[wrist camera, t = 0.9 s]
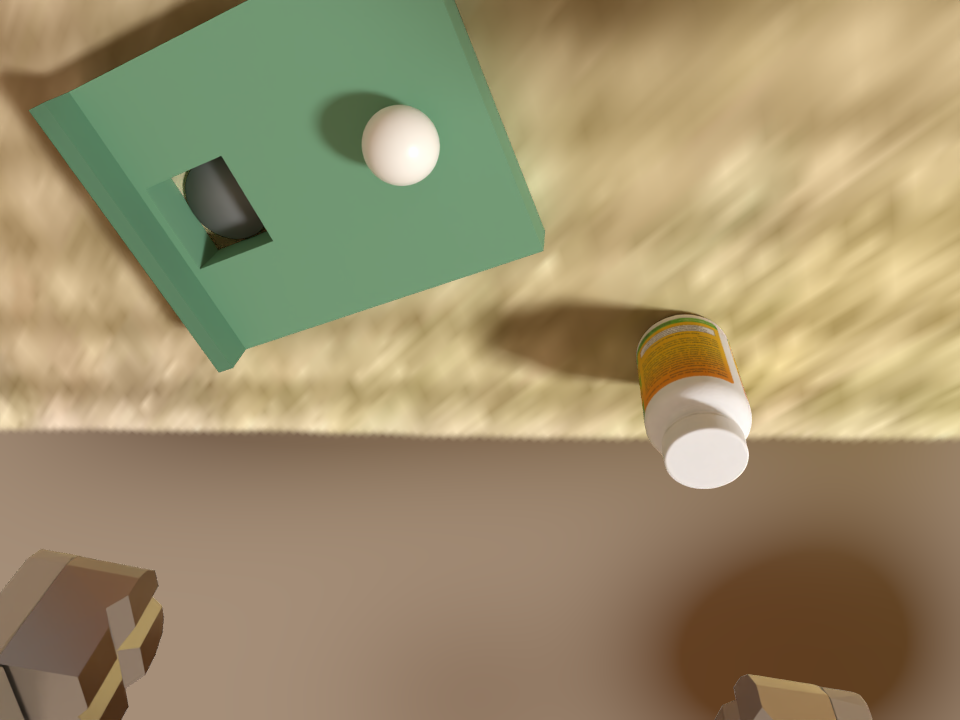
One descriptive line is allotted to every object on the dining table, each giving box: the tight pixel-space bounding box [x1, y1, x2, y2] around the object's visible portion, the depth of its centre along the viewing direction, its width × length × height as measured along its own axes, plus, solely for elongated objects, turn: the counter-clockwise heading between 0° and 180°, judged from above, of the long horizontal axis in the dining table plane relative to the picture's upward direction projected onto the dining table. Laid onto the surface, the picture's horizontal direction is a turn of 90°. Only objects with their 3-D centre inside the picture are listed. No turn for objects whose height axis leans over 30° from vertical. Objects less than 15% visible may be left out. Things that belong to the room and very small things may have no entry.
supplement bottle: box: [636, 314, 752, 489], centre depth 38 cm, size 5×5×10 cm
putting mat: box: [29, 0, 545, 372], centre depth 36 cm, size 20×16×4 cm
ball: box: [362, 105, 440, 186], centre depth 33 cm, size 4×4×4 cm
